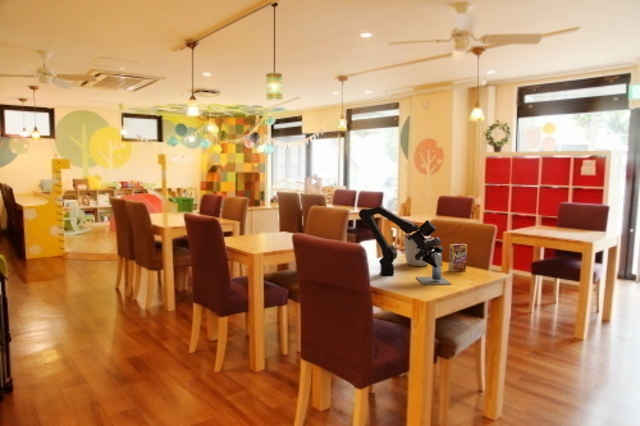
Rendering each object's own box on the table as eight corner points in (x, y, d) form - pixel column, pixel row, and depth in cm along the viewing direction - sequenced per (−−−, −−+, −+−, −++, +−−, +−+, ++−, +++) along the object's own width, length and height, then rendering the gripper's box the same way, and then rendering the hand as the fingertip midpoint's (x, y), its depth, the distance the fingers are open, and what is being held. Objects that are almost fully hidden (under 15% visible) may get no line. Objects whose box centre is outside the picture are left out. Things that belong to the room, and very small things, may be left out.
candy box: (452, 272, 248) (452, 245, 246) (448, 270, 252) (449, 243, 251) (466, 271, 250) (467, 244, 248) (462, 269, 254) (463, 243, 253)
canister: (431, 262, 275) (432, 228, 273) (434, 268, 257) (435, 232, 255) (401, 261, 277) (402, 227, 275) (402, 267, 259) (403, 231, 257)
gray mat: (423, 284, 220) (423, 283, 220) (415, 278, 234) (415, 276, 234) (451, 284, 221) (451, 283, 220) (442, 277, 234) (442, 276, 234)
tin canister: (435, 280, 222) (436, 254, 221) (430, 278, 226) (430, 253, 225) (442, 279, 224) (443, 254, 223) (437, 277, 228) (438, 252, 227)
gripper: (420, 234, 219) (439, 259, 212) (441, 230, 232) (459, 254, 225) (406, 247, 226) (424, 272, 219) (427, 243, 238) (445, 267, 232)
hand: (439, 266), depth 223 cm, fingers closed on tin canister, 4 cm apart
